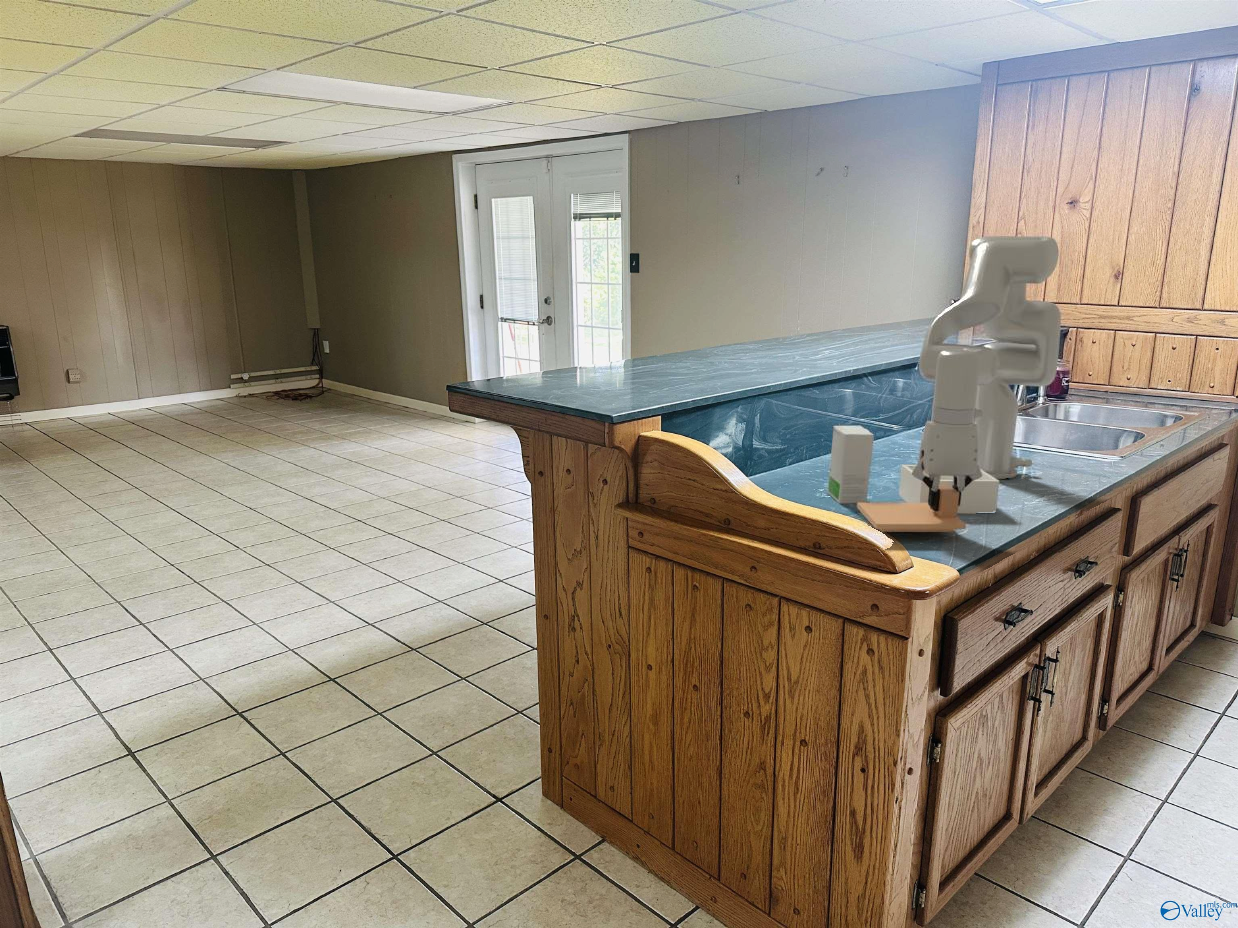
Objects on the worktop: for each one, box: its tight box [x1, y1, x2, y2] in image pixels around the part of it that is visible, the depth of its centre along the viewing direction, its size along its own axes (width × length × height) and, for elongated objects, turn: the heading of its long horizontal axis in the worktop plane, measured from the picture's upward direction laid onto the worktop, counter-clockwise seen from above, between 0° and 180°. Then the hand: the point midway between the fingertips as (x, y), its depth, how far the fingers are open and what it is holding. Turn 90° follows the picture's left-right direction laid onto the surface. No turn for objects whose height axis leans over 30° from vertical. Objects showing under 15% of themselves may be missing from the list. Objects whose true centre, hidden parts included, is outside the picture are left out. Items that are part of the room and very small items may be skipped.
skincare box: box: [827, 425, 875, 505], centre depth 186 cm, size 8×7×16 cm
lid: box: [856, 484, 967, 533], centre depth 165 cm, size 17×14×7 cm
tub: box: [898, 464, 1000, 514], centre depth 183 cm, size 16×13×7 cm
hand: (943, 508), depth 166 cm, fingers closed on lid, 3 cm apart
